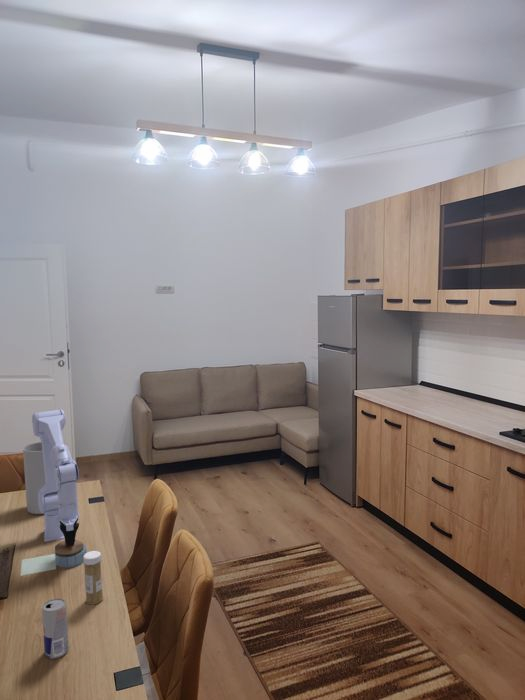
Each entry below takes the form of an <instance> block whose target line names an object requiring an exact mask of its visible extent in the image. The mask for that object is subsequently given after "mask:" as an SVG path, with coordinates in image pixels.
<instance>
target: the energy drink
mask: <svg viewBox="0 0 525 700" xmlns="http://www.w3.org/2000/svg"><path fill="white" fill-rule="evenodd" d="M67 613H68V612H67V603H66V601H65V599H63V598H53V599H49V600H47V601H46V602H44V603H43V606H42V609H41V617H42V632H43V647H44V656H45V657H46V658H48V659H50V660H52V659H53V660H54V659H58V658H59V659H60V658H62V657H63V656H65V654H67V652H68V651H69V649H70V646H69V632H68V631H69V628H68V614H67Z"/></svg>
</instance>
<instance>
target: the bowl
mask: <svg viewBox="0 0 525 700" xmlns="http://www.w3.org/2000/svg"><path fill="white" fill-rule="evenodd" d="M86 553H88V551H87V545H86V544H84V543H83V549H82V550H81V551H80V552H78V553H75V554H71V555H60V554H57V553H56V552H55V551H54V554H55V559H56V567H57V566H58V568H65V569H66V568H67V569H68V568H73V567H77V566H80V565H82V564H84V560H83V557H84V555H85V554H86Z"/></svg>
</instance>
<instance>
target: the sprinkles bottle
mask: <svg viewBox="0 0 525 700" xmlns="http://www.w3.org/2000/svg"><path fill="white" fill-rule="evenodd" d="M83 560H84V562H83V564H84V583H85V584H84V585H85V596H86V599H85V601H86V603H87V604H88V605H96V604H99V603H101V602H102V601H103V599H104V595H103V582H102V581H103V580H102V579H103V578H102V567H101V566H102V565H101V562H102V554H101V552H100V551H98V550H93V551H92V550H90V551H87V553H86V554H85V555H84V557H83Z"/></svg>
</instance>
